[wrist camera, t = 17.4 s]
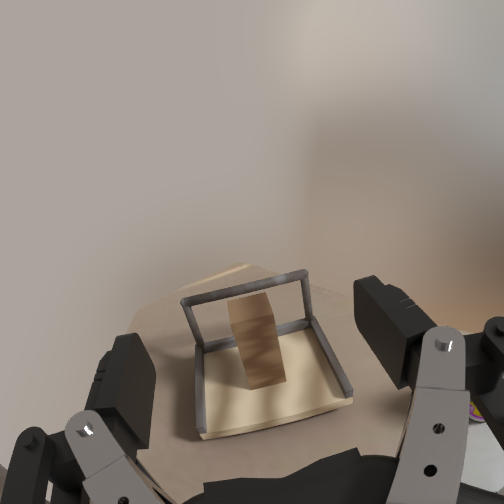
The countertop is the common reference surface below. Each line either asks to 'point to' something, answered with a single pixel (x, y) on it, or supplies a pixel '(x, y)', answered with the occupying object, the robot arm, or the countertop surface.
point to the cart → (271, 397)
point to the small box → (501, 491)
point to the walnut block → (257, 340)
